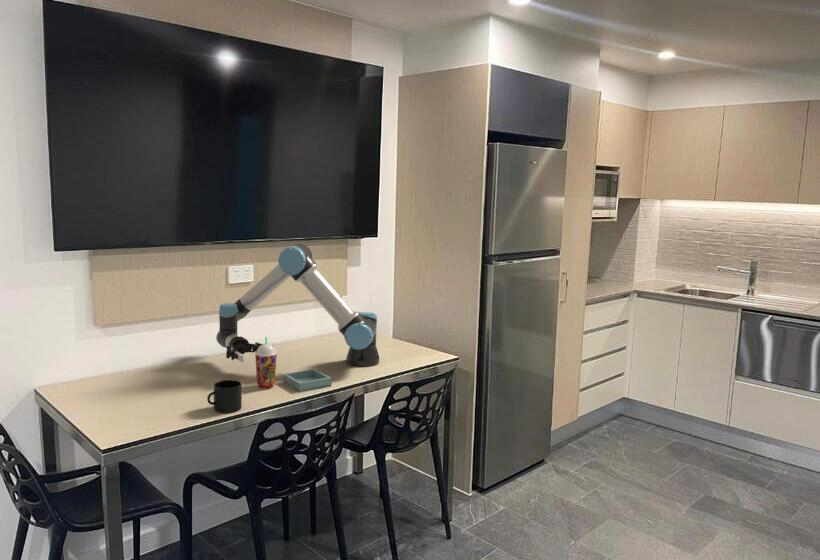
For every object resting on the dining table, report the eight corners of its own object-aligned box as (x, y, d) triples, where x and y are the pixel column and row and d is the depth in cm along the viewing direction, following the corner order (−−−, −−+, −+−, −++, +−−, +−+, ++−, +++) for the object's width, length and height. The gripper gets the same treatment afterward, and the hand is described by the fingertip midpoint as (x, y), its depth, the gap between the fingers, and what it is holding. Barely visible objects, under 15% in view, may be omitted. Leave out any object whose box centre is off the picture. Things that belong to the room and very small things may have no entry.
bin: (313, 376, 260) (313, 368, 259) (331, 386, 249) (331, 377, 249) (283, 382, 251) (283, 374, 251) (300, 392, 240) (300, 383, 240)
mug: (202, 408, 220) (202, 383, 218) (235, 402, 227) (235, 378, 226) (212, 416, 212) (212, 391, 211) (245, 410, 220) (245, 385, 218)
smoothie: (271, 390, 241) (272, 340, 238) (251, 388, 242) (251, 338, 239) (280, 384, 249) (280, 335, 246) (260, 382, 250) (260, 333, 247)
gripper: (264, 349, 273) (287, 361, 256) (208, 357, 257) (228, 370, 241) (264, 332, 272) (287, 343, 255) (208, 339, 256) (228, 351, 240)
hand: (258, 356), depth 248 cm, fingers open, 13 cm apart
